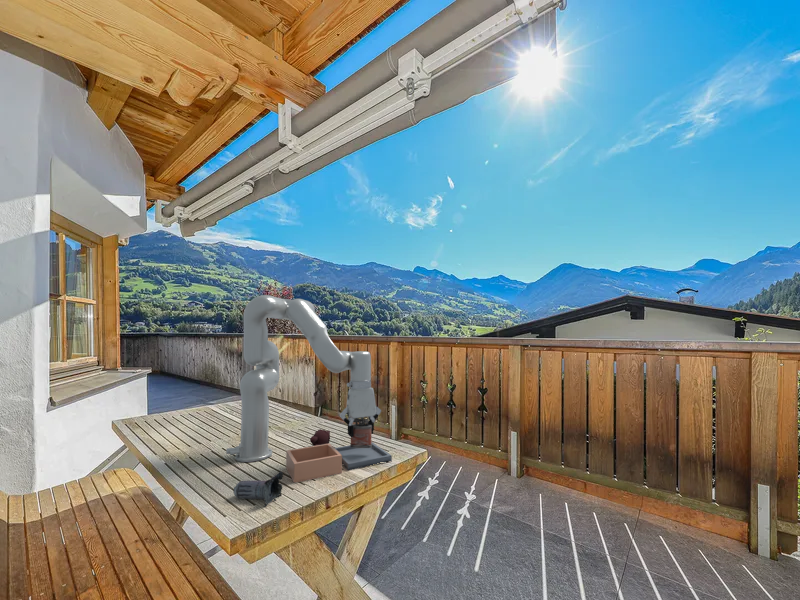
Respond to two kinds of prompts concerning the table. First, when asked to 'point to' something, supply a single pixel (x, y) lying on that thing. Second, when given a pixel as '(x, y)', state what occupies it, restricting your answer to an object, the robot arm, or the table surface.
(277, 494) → the dark blue piece
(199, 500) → the table surface
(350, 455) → the tray
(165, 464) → the table surface
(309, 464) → the pink open box
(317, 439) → the icecream
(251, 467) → the table surface
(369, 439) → the lighter
